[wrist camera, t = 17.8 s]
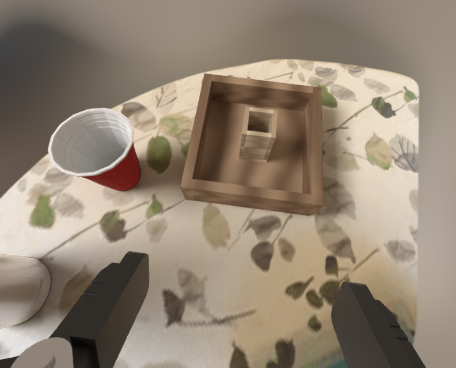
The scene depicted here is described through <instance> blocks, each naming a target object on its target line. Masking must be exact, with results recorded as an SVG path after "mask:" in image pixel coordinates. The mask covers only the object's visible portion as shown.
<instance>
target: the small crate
mask: <svg viewBox="0 0 456 368" xmlns="http://www.w3.org/2000/svg"><path fill="white" fill-rule="evenodd" d="M277 112H278V110H270V109H262V108H254V107H246V106H245V113H244V120H243V127H242V134H241V142H240V150H239V158H238V159H244V160H252V161H260V162H267V159H268V157H269V154H270V152H271V149H272V146H273V144H274V141H275V139H276V128H277Z"/></svg>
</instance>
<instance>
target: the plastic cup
mask: <svg viewBox="0 0 456 368" xmlns="http://www.w3.org/2000/svg"><path fill="white" fill-rule="evenodd" d="M48 152H49V156H50V159H51V163H53V164H54V165H55V166H56V167H57V168H58V169H59V170H60V171H61V172H64V173H67V174H70V175H74V176H77V177H83V178H86V179H89V180H91V181H93V182H96V183H98V184H101V185H103V186H106V187H109V188H112V189H115V190H118V191H124V190H129V189H131V188H133V187H134V186H135V185H136V184H137V183H138V181H139V179H140V177H141V169H140V166H139V161H138V158H137V155H136V152H135V149H134V143H133V128H132V126H131V124H130V122H129V120H128V118H126V117H125V116H124V115H122V114H121V113H120V112H118V111H115V110H111V109H106V108H97V109H88V110H85V111H83V112H80V113H77V114H74V115H73V116H71V117H70V118H68V119H67V120H66V121H64V122H63V123H61V124H60V126H59V127H58V128H57V130H56V131H55V132H54V134H53V135H52V136H51V140H50V144H49V148H48Z"/></svg>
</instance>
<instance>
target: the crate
mask: <svg viewBox="0 0 456 368" xmlns="http://www.w3.org/2000/svg"><path fill="white" fill-rule="evenodd" d="M245 106H246V107H254V108H262V109H270V110H278V112H277V128H276V139H275V141H274V144H273V146H272V149H271V152H270V154H269V157H268V159H267V162H260V161H252V160H244V159H238V158H239V150H240V142H241V134H242V127H243V120H244V113H245ZM180 188H181V190H182V192H183V194H184V196H185V199H187V200H195V201H202V202H210V203H218V204H225V205H233V206H240V207H248V208H256V209H263V210H271V211H278V212H286V213H293V214H301V215H310V214H312V213H313V212H315V211H316V210H318V209H319V208H320V207H322V206H323V171H322V107H321V88H320V87H312V86H304V85H295V84H287V83H279V82H270V81H262V80H254V79H246V78H237V77H229V76H221V75H213V74H204V79H203V83H202V88H201V93H200V97H199V102H198V107H197V111H196V116H195V121H194V125H193V130H192V134H191V139H190V144H189V148H188V153H187V158H186V162H185V167H184V172H183V176H182V181H181V186H180Z"/></svg>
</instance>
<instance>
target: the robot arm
mask: <svg viewBox="0 0 456 368" xmlns="http://www.w3.org/2000/svg"><path fill="white" fill-rule="evenodd" d="M50 283H51V279H50V273H49V271H48V268H47V267H46V266H45V264H44V263H42V262H41V261H40V260H38V259H35V258H30V257H22V256H13V255H5V254H0V329H1V328H5V327H9V326H13V325H17V324H20V323H22V322H24V321H26V320H28V319H29V318H31V317H32V316H33V315H35V313H36V312H37V311H38V310H39V309H40V308H41V307H42V305H43V304H44V302H45V300H46V298H47V296H48V294H49V290H50ZM148 287H149V258H148V254H145V253H138V252H131V251H129V252H127V254H126V255H125V256H124V258H123V259H122V261H121V262H120V264H119V263H111V264H110V265H108V266H107V267H106V268H104V269H103V270H101V271H100V272H99V274H98V275H97V276H96V278H95V279H94V280H93V281H92V284H91V285H89V287H88V288H87V289H86V291H85V292H84V295H82V296H81V297H80V299H79V300H78V301H77V302H76V304H75V305H74V306H73V308H72V309H71V310H70V312H69V313H68V314H67V316H66V317H65V318H64V320H63V321H62V322H61V323H60V325H59V326H58V327H57V329H56V330H55V331H54V333H53V334H52V335H51V336H50V337H49V338H48V339H45V340H42V341H40V342H37V343H36V344H34V345H32V346H31V347H29V348H28V349H26V350H25V351H24V352H23V353H22V354H21V355H20V356H16V357H12V358H7V359H2V360H0V368H113V366H114V364H115V362H116V360H117V358H118V355H119V353H120V351H121V349H122V347H123V345H124V342H125V340H126V338H127V336H128V334H129V332H130V329H131V327H132V325H133V323H134V321H135V319H136V317H137V314H138V312H139V310H140V308H141V306H142V304H143V301H144V299H145V297H146V294H147V291H148ZM331 318H332V324H333V327H334V330H335V332H336V335H337V338H338V341H339V344H340V347H341V349H342V352H343V355H344V358H345V361H346V364H347V367H348V368H426V367H425V365H424V364H423V362H422V361H421V359H420V357H419V356H418V354H417V352H416V351H415V349H414V348H413V346H412V344H411V343H410V342H408V338H407V336H406V335H405V333H404V332H403V330H402V329H400V325H399V324H398V322H397V320H396V319H395V317H394V315H393V314H392V312H391V311H390V310H389V309H388V308H387V307H385V306H384V305H383V304H382V303H381V302H380V301H379V300H375V299H374V298H373V296H372V294H371V292H370V291H369V289H368V287H367V286H366V285H365V284H359V283H352V282H343V283H342V285H341V287H340V289H339V292H338V294H337V297H336V299H335V302H334V304H333V307H332V311H331Z"/></svg>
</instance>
